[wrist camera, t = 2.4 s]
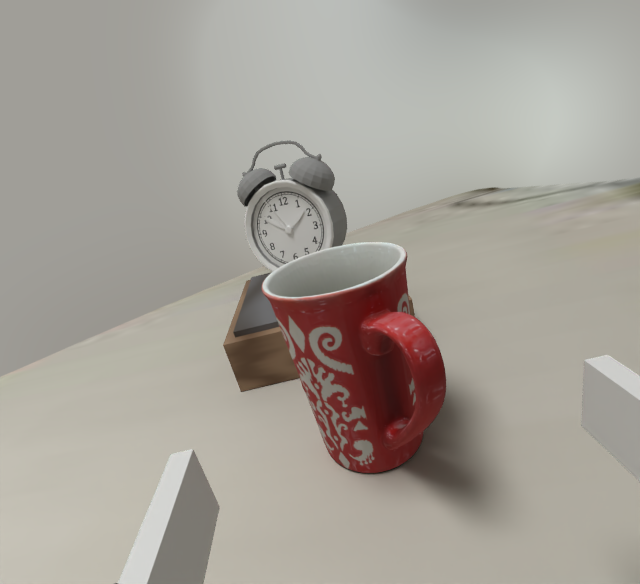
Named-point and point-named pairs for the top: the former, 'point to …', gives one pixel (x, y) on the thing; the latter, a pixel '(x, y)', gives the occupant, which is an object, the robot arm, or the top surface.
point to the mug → (359, 351)
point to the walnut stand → (259, 341)
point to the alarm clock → (291, 210)
